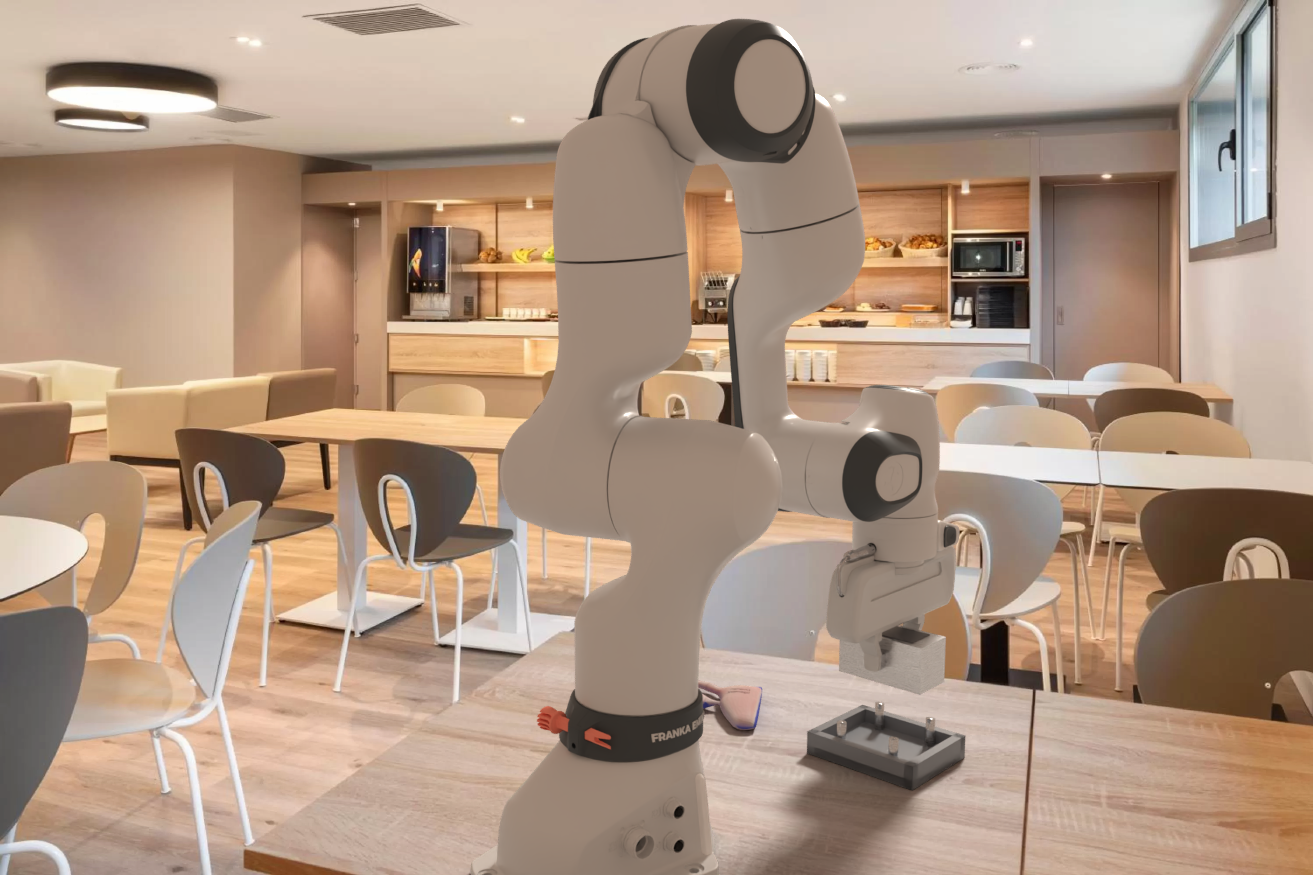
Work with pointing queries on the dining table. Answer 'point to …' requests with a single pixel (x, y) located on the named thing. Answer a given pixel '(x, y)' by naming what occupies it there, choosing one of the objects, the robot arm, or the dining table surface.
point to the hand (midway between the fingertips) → (891, 661)
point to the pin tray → (887, 745)
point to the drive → (901, 660)
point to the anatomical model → (735, 703)
